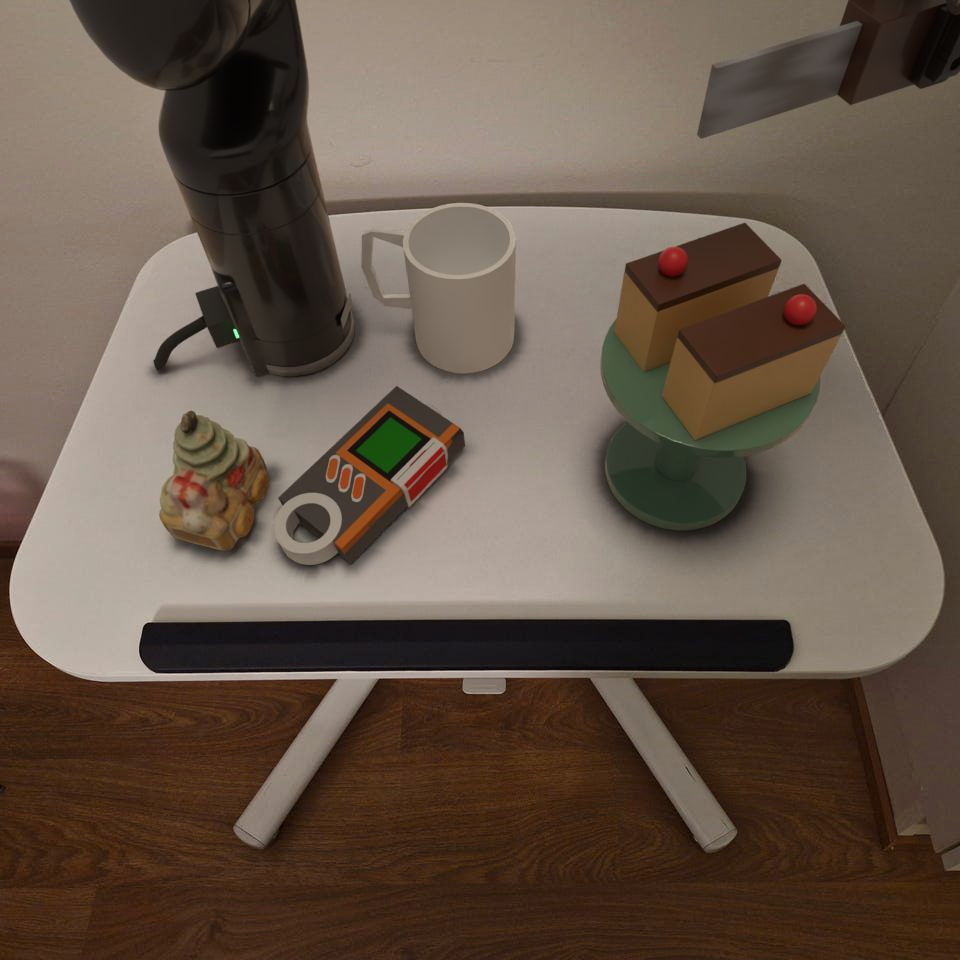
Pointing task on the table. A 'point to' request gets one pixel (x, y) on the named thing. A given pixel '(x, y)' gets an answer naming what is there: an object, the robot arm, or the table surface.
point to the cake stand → (680, 447)
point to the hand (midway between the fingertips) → (908, 65)
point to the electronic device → (367, 479)
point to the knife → (821, 65)
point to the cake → (723, 329)
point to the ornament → (211, 485)
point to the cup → (455, 284)
